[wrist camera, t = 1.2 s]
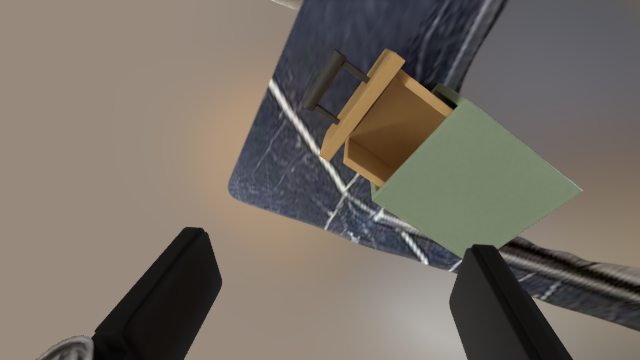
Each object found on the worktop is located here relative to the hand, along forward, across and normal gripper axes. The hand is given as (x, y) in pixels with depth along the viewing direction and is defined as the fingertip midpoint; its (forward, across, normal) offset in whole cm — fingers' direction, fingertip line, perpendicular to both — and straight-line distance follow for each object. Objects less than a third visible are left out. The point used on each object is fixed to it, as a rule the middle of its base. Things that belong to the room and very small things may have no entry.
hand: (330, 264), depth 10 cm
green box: (+25, -13, +7) cm, 29 cm away
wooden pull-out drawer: (+25, -4, +1) cm, 25 cm away
